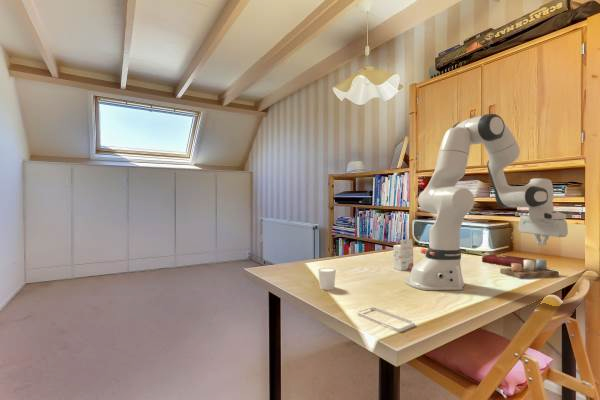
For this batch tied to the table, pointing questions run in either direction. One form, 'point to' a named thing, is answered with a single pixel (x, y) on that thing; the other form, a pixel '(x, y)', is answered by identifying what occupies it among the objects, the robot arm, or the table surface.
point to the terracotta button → (516, 267)
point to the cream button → (528, 265)
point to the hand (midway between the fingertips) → (541, 244)
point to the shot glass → (327, 278)
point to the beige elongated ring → (388, 315)
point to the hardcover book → (504, 260)
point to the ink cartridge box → (403, 255)
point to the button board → (529, 273)
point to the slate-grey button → (541, 264)
